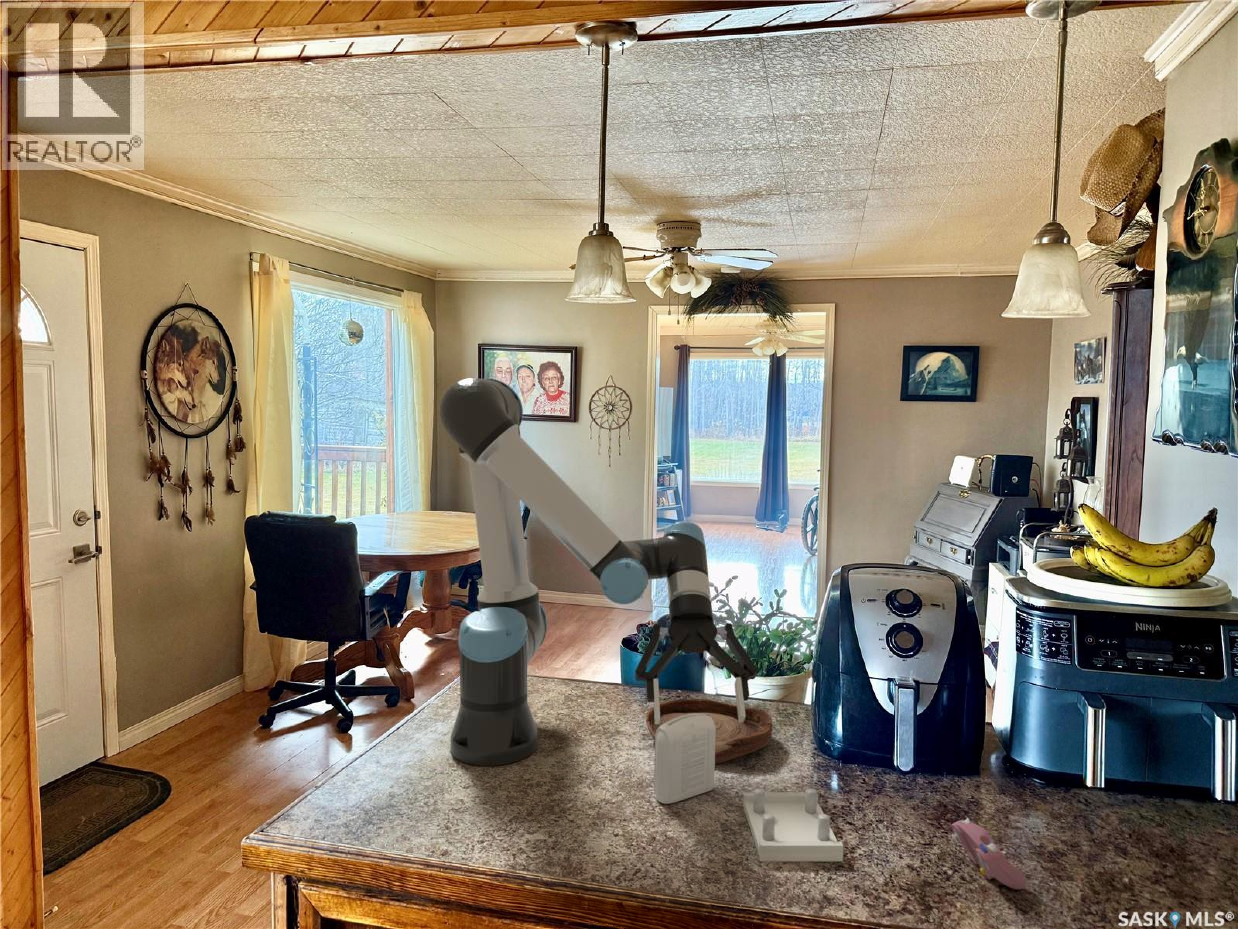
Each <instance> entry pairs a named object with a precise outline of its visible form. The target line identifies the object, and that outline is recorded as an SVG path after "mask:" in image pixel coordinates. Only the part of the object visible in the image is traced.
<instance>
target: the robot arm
mask: <svg viewBox="0 0 1238 929" xmlns="http://www.w3.org/2000/svg"><path fill="white" fill-rule="evenodd" d="M438 415H439V421H440V423H441V426H442V428H443V429H444V431H445V432H446V434H447V435H448V436H449V438H450V439H451V440H452V441H453V442H454V443H455V445H457V446H458V451H459V456H460V457H462V458H463V459H465V461H467V462H468V466H469V473H470V474H469V475H470V481H471V489H472V490H471V491H472V498H473V506H474V515H475V522H476V524H475V525H476V530H477V540H478V547H479V555H480V563H481V572H482V580H483V581H482V582H483V588H482V589H481V591H480V593H479V594H478V595H477V597H476V598H477V599H476V600H477V606H478V608H477V609H478V611H477V610H475V611H472V612H471V613H469V614H468V615H466V616H465V617H464V618H463V619H462V621H461V623H460V626H459V634H458V642H457V644H458V648H459V650H458V651H459V652H458V653H459V655H458V656H459V696H460V697H459V698H460V700H459V701H460V702H459V704H460V705H459V708H458V711H457V714H456V715H457V716H456V718H455V722H454V724H453V727H452V731H451V733H450V753H451V755H452V756H453V757H454V758H455V759H457V760H458V761H460V762H463V763H465V764H469V765H474V766H481V767H483V766H487V767H491V766H492V767H493V766H494V767H495V766H505V765H508V764H513V763H516V762H519V761H522V760H523V759H526V758H528V757H530V756H531V755H532V754H533V753H534V752H535V751H536V750H537V748H538V744H539V742H538V740H539V737H538V734H539V733H538V729H537V726H536V723H535V720H534V717H533V714H532V711H531V708H530V705H529V703H528V665H529V663H530V661H531V660H532V658H533V657H534V656H535V654H536V653H537V651H538V650H539V649H540V647H541V646H542V644H543V642H544V641H545V638H546V634H547V631H548V629H547V628H548V618H547V614H546V611H545V609H544V607H543V605H542V603H541V602H540V595H539V594H540V593H539V588H538V587H537V586H536V585H535V584H534V583H532V582H531V581H530V577H529V568H528V561H527V560H528V558H527V550H526V542H525V534H524V527H523V526H524V525H523V516H522V509H521V507H522V506H521V502H522V504H523V505H525V507H526V508H528V509H529V511H531V513H532V514H533V515H534V516H535V517H536V518H538V520H539V521H540V522H541V523H542V524H543V525H544V526H545V528H547V529H548V530H549V531H550V532H551V533H552V534H553V535H554V536H555V538H557V539H558V540H559V541H560V542H561V543H562V544H563V546H565V547H566V549H568V551H570V553H572V555H574V556H575V558H576V559H577V560H579V561H580V563H581V564H583V565H584V567H585V568H586V569H588V571H589V572H590V573H591V574H592V575H593V576H594V577H595V579H597V581H599V583H600V588H601V590H602V593H603V595H604V596H605V597H606V598H607V599H608V600H609V601H610V602H613V603H615V604H619V605H629V604H632V603H634V602H636V601H638V600H639V599H640V598H641V597H642V595H643V594H644V592H645V591H646V589H647V587H648V585H649V581H651V580H660V579H661V580H662V579H665V578H666V581H667V596H668V599H667V600H668V603H669V604H668V615H669V627H661V626H660V624H657V623H655V624H653V625H652V635H651V638H650V640H649V643H648V645H647V646H646V648H645V650H644V652H643V655H642V656H641V659H640V660H639V661H638V662H639V663H638V664H637V666H636V669H635V671H634V672H635V674H634V679H635V681H637V682H640V681H641V682H643V683H644V684H645V687H646V688H645V690H646V693H645V694H646V701H647V702H648V703H653V706H654V718H655V724H659V723H660V704H659V703H660V690H659V678H658V677H659V676H660V675H661V673H662V672H663V671H664V670H665V669H666V667H667V666H668V665H670V663H671V661H672V660H673V659H674V658H675V657H676V656H677V655H678V654H679V653H680V652H683V653H684V654H685V655H686V654H693V653H694V654H703V653H704V652H706V653H707V654H708V655H709V656H710V657H713V658H714V659H715V660H716V661H717V662H718V663H719V664H720V665H721V666H722V667H723V668H724V669H725V670H726V671H727V672H729V674H730V675H731V676H733V678H735V681H734V692H735V701H736V705H737V711H738V720H739V723H742V722H744V720H745V717H746V715H745V707H746V706H745V702H747V701H748V700H749V697H750V688H749V681H750V680H755V679H756V677H757V674H758V668H757V666H756V665H755V663H754V662H753V660H752V659H751V657H750V656H749V655H748V654H749V653H748V652H747V651H746V649H744V647H743V645H742V644H741V642H740V641H739V639H738V638H737V636H736V635H735V632H734V627H733V625H732V623H730V622H728V623H726V624H725V625H723V626H716V625H715V623H714V617H713V607H712V606H713V605H712V601H711V590H710V589H711V588H710V580H709V579H710V578H709V571H708V569H709V568H708V556H707V547H706V543H705V535H704V532H703V530H702V528H701V526H700V525H698V524H697V523H694V522H691V521H686V520H685V521H684V520H683V521H676V522H675V523H674V524H672V523H671V524H670V525H668V526H667V527H666V528H665V530H664V533H663V536H661V537H657V538H656V537H655V538H649V539H647V538H646V539H638V540H636V539H635V540H627V541H622V540H621V538H620V537H619V536H618V535H617V534H616V533H615V532H614V531H613V530H612V529H611V528H610V527H609V526H608V525H607V523H605V522H604V521H603V520H602V518H600V517H599V515H597V513H596V512H595V511H594V510H593V509H592V508H590V506H588V504H587V503H586V502H585V501H584V500H583V499H582V498H581V497H580V496H579V495H578V494H577V493H576V492H575V491H574V490H573V489H572V488H571V487H570V485H568V484H567V483H566V482H565V481H564V480H563V478H561V477H560V475H558V474H557V473H556V471H555V470H553V469H552V468H551V467H550V465H549V464H548V463H547V462H546V461H545V460H544V459H543V458H542V457H541V456H540V455H539V454H538V453H537V452H536V451H535V450H534V449H533V448H532V447H531V446H530V445H529V444H528V443H527V442H526V441H525V440H524V438H523V437H522V436H521V428H520V426H521V425H522V421H523V418H524V416H523V415H524V409H523V403H522V401H521V398H520V396H519V394H518V392H516V391H515V390H514V389H513V388H512V387H511V385H508V384H507V383H505V382H503V381H501V380H498V379H495V378H477V377H468V378H464V379H463V378H462V379H460V380H458V381H456V382H454V383H453V384H451V385H450V386H449V387H448V388H447V389H446V390H445V392H444V393H443V395H442V397H441V400H440V402H439V408H438ZM666 636H667V637H668V639H670V640H671V643H670V644H669V646H668V648H667V649H666V650H665V651H664V653H662V655H660V657H658V658H659V659H657V661H656V662H655V663H654V664H653V665H652V667H651V668H650V669H649V670H648V671H647V669H648V667H649V665H650V664H651V661H652V658H654V657H653V656H654V654H655V652H656V651H657V648H658V647H659V643H660V642H661V641H663V640H664V639H665V637H666ZM717 636H719V637H721V639H722V640H723V641H725V642H726V645H727V646H728V648H729V650H730V651H731V652H732V655H734V657H735V659H736V660H737V661H736V660H735V659H734V658H733V657H732V656H731V655H730V654H729V653H727V651H725V649H723V647H722V646H720V644H719V642H718V641H717V640H716V637H717Z"/></svg>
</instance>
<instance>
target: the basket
mask: <svg viewBox="0 0 1238 929" xmlns="http://www.w3.org/2000/svg"><path fill="white" fill-rule="evenodd" d="M659 704H660V723H659V724H655V718H654V705H653V706H652V707H651V708H649V710H648V711H647V713H646V716H645V722H646V727H647V730H648V731H649V733H650V735H651V737H652V738H653V740H654V741H655V733H656V730H657V729H658V728H659V727H660V726H661V725H663V724H664V723H666V722H668V721H669V720H671V719H674V718H676V717H679V716H682V715H687V714H695V713H698V714H705V715H707V716H709V717H711V718H712V719H713V722H714V724H715V729H716V734H715V764H719V763H721V764H722V763H725V762H727V761H730V760H734V759H737V758H739V757H740V758H741V757H742V756H744V755H747V754H750V753H751V754H752V753H754V752H755V751H758V750H760V749H762V748H763V747H765V746H766V745H767V744H769V742H771V739H772V736H773V735H772V734H773V718H772V716H771V714H770V713H768V712H767V711H766V710H765V709H763V708H760V707H757V706H753V707H751V706H744V707H745V715H746V717H745V720H744V722H742V723H739V720H738V711H737V704H732V703H731V704H730V703H727V702H723V701H719V700H712V699H709V698H696V697H695V698H693V697H692V698H690V699H688V698H674V699H670V700H667V701H666V700H665V701H662V702H659Z"/></svg>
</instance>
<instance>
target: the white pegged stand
mask: <svg viewBox="0 0 1238 929" xmlns="http://www.w3.org/2000/svg"><path fill="white" fill-rule="evenodd" d="M742 799H743V801H742V802H743V803H742V804H743V806H742V807H743V810H744V813H745V816H746V817H745V818H746V819H747V823H748V826H749V828H750V831H751V835H752V838H753V842H754V845H755V848H756V851H757V855H758V858H759V861H760V862H844V844H843V842H842V841H841V840H839V841H838V839H837V838H836V836H835V833H834V832H833V830H832V828H831V816H830V815H828V814H825V813H824V811H823V810H822V808H821V805H820V803H819V794H818V791H817V790H816V789H814V788H807V789H805V792H802V791H800V792H799V791H798V792H795V791H794V792H792V791H791V792H788V791H787V792H785V791H784V792H783V791H782V792H776V791H775V792H771V791H770V792H769V791H765V789H762V788H756V789H754V790H753V791H752V792H750V791H749V792H743V796H742Z"/></svg>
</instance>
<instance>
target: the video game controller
mask: <svg viewBox="0 0 1238 929" xmlns="http://www.w3.org/2000/svg"><path fill="white" fill-rule="evenodd" d="M950 826H951V830H952V831H953V833H954V834H952V835H951V837H952V840H953V841H954V842H955V843H956V844H959V843H960V844H961V846H962V847H963V848H964V850H965V852H966V853H967V855H968V857H969V858H970V860H971V861H972V862H973V863H974V865H976V866H977V865H978V867H980V868H979V871H980V872H981V874H982V875H983V876H985V877H986V878H987V879H988V880H991V879H996V880H997V881H998V882H1000V883H1002V885H1005V886H1007V887H1008V888H1010V889H1012V890H1017V891H1018V890H1024V889H1025V888H1026V886H1027V877H1026V876H1025V874H1024V872H1022V871H1021V870H1020V869H1018V868H1017V867H1016V866H1015V865H1014V864H1012V863H1011V862H1010V861H1009V860H1008V859H1007V857H1005V855H1004V854H1003V852H1002V851H1001V849H1000V848H999V847H998V846H997V845H996V843H995V842H994V841H993V839H992V837H991V835H990V833H989V832H988V830H986V829H985V828H983V827H982V826H980V825H977V824H975V823H974V822H973V821H971V820H970V819H969V818H968V817H967V818H966V819H965V820H964V819H959V820H957V821H956V822H953V823H952V824H950Z"/></svg>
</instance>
